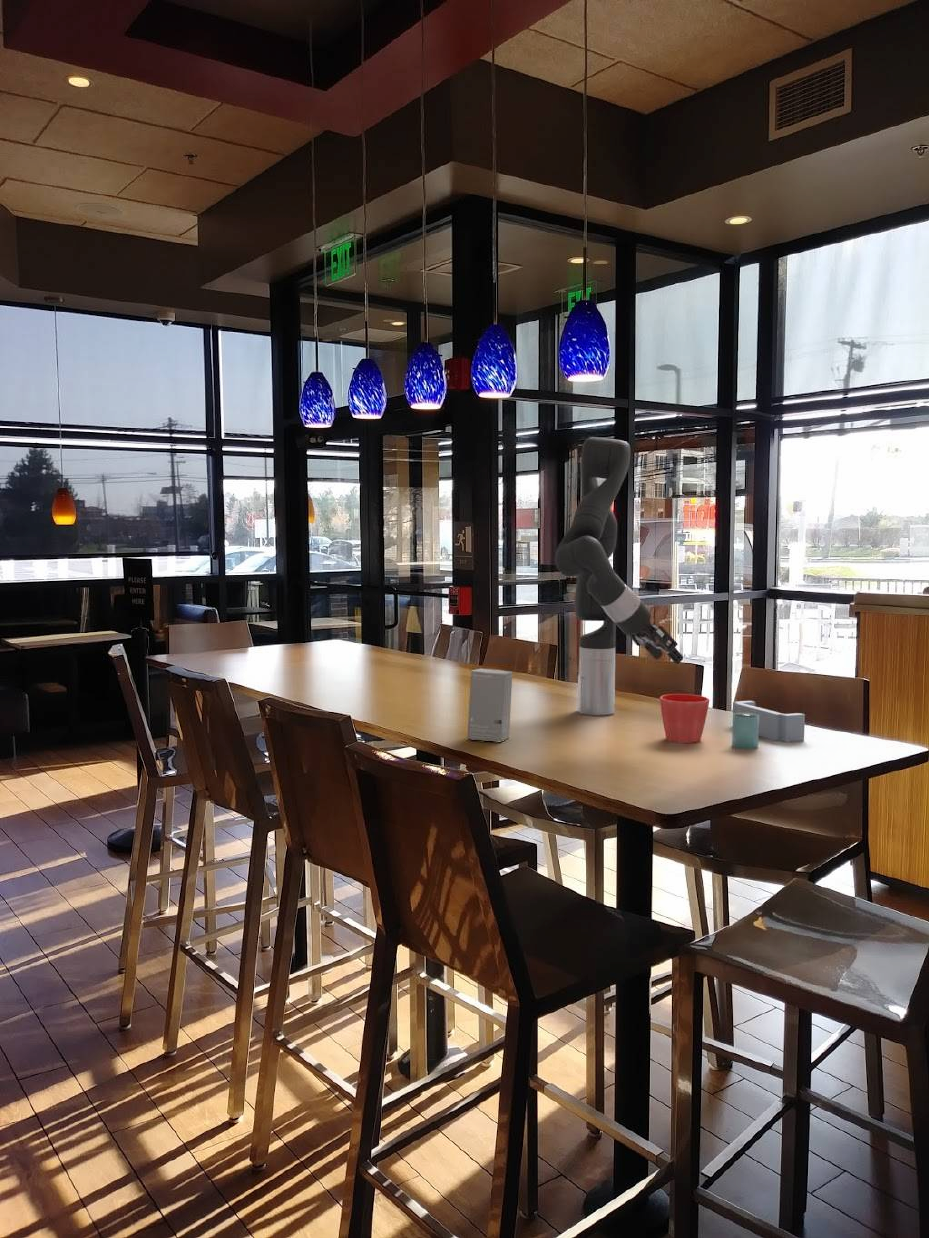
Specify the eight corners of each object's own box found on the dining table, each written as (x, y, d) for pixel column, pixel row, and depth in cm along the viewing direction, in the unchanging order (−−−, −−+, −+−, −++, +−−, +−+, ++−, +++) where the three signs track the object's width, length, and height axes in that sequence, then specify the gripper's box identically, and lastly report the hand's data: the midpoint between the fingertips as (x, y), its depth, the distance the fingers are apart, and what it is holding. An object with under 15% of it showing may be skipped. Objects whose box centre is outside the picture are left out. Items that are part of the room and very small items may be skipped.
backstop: (782, 742, 226) (783, 716, 225) (729, 726, 244) (729, 701, 244) (804, 740, 228) (804, 714, 227) (749, 724, 247) (750, 700, 246)
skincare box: (467, 740, 226) (467, 671, 225) (477, 734, 233) (478, 667, 231) (502, 743, 223) (503, 673, 222) (512, 737, 230) (513, 669, 228)
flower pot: (709, 745, 222) (710, 702, 221) (658, 743, 224) (659, 700, 223) (707, 736, 232) (708, 694, 232) (659, 734, 235) (660, 692, 234)
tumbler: (735, 749, 219) (736, 716, 218) (728, 743, 224) (729, 712, 224) (761, 749, 219) (762, 716, 218) (753, 743, 224) (754, 712, 224)
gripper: (653, 598, 214) (698, 650, 219) (620, 594, 228) (663, 643, 233) (631, 624, 213) (676, 675, 218) (599, 618, 226) (642, 667, 231)
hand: (669, 658), depth 225 cm, fingers open, 8 cm apart
